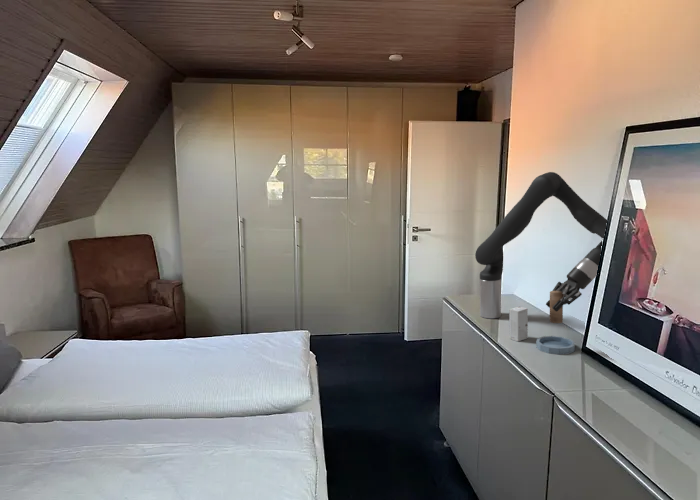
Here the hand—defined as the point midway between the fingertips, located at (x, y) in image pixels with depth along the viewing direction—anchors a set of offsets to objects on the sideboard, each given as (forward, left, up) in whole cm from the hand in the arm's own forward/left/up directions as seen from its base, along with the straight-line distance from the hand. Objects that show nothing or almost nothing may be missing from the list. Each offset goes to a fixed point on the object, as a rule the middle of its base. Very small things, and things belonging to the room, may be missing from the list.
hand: (551, 307), depth 179 cm
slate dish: (0, +2, -15) cm, 16 cm away
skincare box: (-12, -7, -16) cm, 21 cm away
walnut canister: (0, +2, -5) cm, 6 cm away
